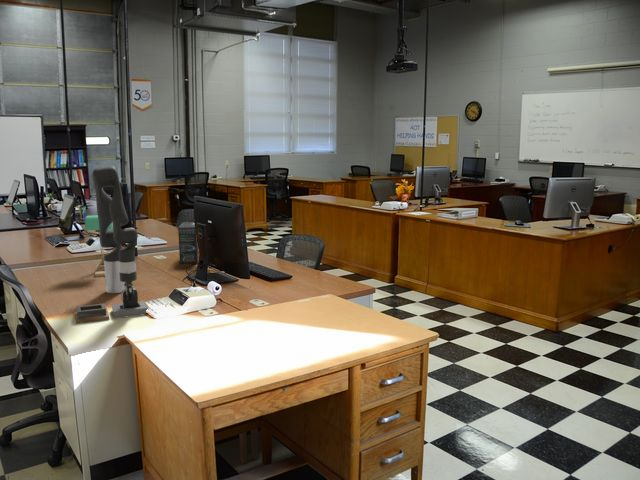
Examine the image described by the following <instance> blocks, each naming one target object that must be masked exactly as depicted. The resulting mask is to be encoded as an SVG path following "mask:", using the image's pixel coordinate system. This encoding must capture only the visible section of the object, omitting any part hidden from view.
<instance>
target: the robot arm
mask: <svg viewBox="0 0 640 480" xmlns="http://www.w3.org/2000/svg"><path fill="white" fill-rule="evenodd" d="M92 181H93V186H94V191H95V192H94V193H95V197H96V198H95V201H96V211H97V212H96V213H97V214H96V215H98V220H99V230H98V233H99V234H98V237H99V245H100V247H101V248H102V247H103V249H104V248H105V249H109V248H114V250H112V251H111V252H108V253H106V254H103V256H104V266H105V276H104V278H105V291H106V293H107V294H119V293H122V290H124V289H125V290H126V295H127V300H128V307H133V298H134V297H133V294H134V291H133V288H134V284H133V282H134V281H136V280H137V279H138V278H137V265H136V264H137V263H136V247H137V246H136V245H137V242H138V237H139V236H138V232H137V230H136V229H135V228H134V227H125V228H122V227H124V226H125V225H127V224H129V220H130V219H129V217H128V213H127V210H126V207H125V204H124V203H125V202H124V199H123V193H122V188H121V182H120V177H119V173H118V171H117V169H116V167H115V166H111V165H109V166H104V167H98V168H94V169H93V171H92ZM107 187H113V194H112V197H111V196H110V195H109V194H108V193H107V192H106V191H105V190H104V189H103V188H107ZM112 222H113V230H111V229H110V230H107V228H108V227H109V225H110V224H111V223H112ZM125 244H127V245H126V246H125V247H123V248H122V246H123V245H125ZM134 289H135V288H134ZM127 292H128V293H127ZM129 295H132V297H129Z"/></svg>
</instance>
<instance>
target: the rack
mask: <svg viewBox="0 0 640 480" xmlns="http://www.w3.org/2000/svg"><path fill="white" fill-rule="evenodd" d="M74 318H75V324H76V325H77V324H85V323H92V322H93V323H95V322H101V321H108V320H110V314H109V312H108V309H107V307H106V305H105V303H97V304H96V303H95V304H89V305H81V306H80V305H79V306H76V311H74Z"/></svg>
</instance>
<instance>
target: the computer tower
mask: <svg viewBox="0 0 640 480" xmlns="http://www.w3.org/2000/svg"><path fill="white" fill-rule="evenodd" d="M177 230H178V246H179V247H178V249H179V251H178V252H179V264H198V263H199V260H198V258H199V251H198V245H197V238H196V232H195V223H194V222H193V221H192V222H191V221H190V222H188V221H185V222H181V224H180V225H178V227H177Z"/></svg>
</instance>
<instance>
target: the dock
mask: <svg viewBox="0 0 640 480" xmlns="http://www.w3.org/2000/svg"><path fill="white" fill-rule="evenodd" d="M111 307H112V313H113V317H114V319H120V318H127V317H126V316H128V317H135V315H136V316H142V315H141V314H144V315H147V314H146V310H147V309H148V310H149V306H148V304H147V303H146V301H145V300H141V301H138V307H135V308H127V309H123V303H117V304H112V306H111Z"/></svg>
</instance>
